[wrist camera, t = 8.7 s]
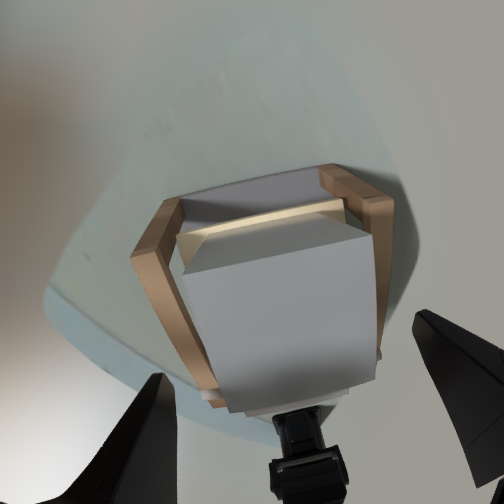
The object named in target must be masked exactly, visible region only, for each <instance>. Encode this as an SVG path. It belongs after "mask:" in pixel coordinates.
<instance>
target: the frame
mask: <svg viewBox="0 0 504 504" xmlns="http://www.w3.org/2000/svg"><path fill="white" fill-rule="evenodd" d="M316 167H317V168H318V173H319V180H320V186H321V187H322V188H323V189H325V190H326V191H327V192H328V193H329V194H331V195H332V196H333V197H334V198H340V199H342V200H343V206H344V207H346V208H347V209H348V210H349V211H350V212H351V213H352V214H353V215H355V216H356V217H357V218H358V219H359V220H360V221H361V222H362V223H363V231H364V232H367V233H369V234H372V239H373V249H374V262H375V278H376V302H377V347H376V365H377V361H379V360H381V359H382V354H381V350H380V344H381V339H382V334H383V328H384V322H385V315H386V308H387V301H388V293H389V284H390V274H391V263H392V248H393V227H394V199H393V198H391V197H390V196H388V195H386V194H385V193H383V192H382V191H380V190H378V189H377V188H375V187H373V186H372V185H370V184H368V183H366V182H365V181H363V180H361V179H360V178H358V177H356V176H354V175H353V174H351V173H349V172H347V171H345V170H344V169H342V168H340V167H338V166H336V165H334V164H332V163H331V164H325V165H319V166H316ZM180 197H181V196H178V197H174V198H171V199H167V200H164V201H163V203H162V204H161V206H160V208H159V209H158V211H157V212H156V214H155V215H154V217H153V219H152V220H151V222H150V224H149V225H148V227H147V229H146V230H145V232H144V234H143V235H142V237H141V239H140V240H139V242H138V244H137V245H136V247H135V249H134V251H133V252H132V254H131V256H130V261H131V263H132V265H133V267H134V269H135V272H136V274H137V276H138V278H139V280H140V282H141V284H142V286H143V289H144V291H145V293H146V295H147V297H148V299H149V301H150V303H151V305H152V307H153V308H154V310H155V312H156V314H157V316H158V318H159V320H160V322H161V324H162V326H163V327H164V329H165V331H166V333H167V335H168V336H169V338H170V340H171V342H172V343H173V345H174V347H175V349H176V350H177V352H178V354H179V356H180V357H181V359H182V361H183V362H184V364H185V366H186V367H187V369H188V370H189V372H190V374H191V375H192V377H193V378H194V380H195V382H196V383H197V385H198V386H199V388H200V389H201V395H202V398H203V400H204V401H207V400H208V401H209V403H210V404H211V406H212V407H213V408H221V407H227V406H226V403H225V401H224V398H223V396H222V393H221V391H220V388H219V385H218V383H217V380H216V377H215V375H214V372H213V369H212V367H211V364H210V361H209V358H208V355H207V353H206V350H205V347H204V345H203V343H202V341H201V339H200V337H199V335H198V333H197V331H196V329H195V327H194V324H193V322H192V320H191V318H190V316H189V313H188V311H187V309H186V307H185V304H184V302H183V300H182V298H181V295H180V293H179V291H178V288H177V286H176V284H175V281H174V279H173V276H172V274H171V272H170V269H169V267H168V266H169V263H170V260H171V257H172V254H173V250H174V247H175V244H176V241H177V239H176V235H177V234H179V232H180V230H181V227H182V224H183V221H184V218H185V213H184V210H183V207H182V203H181V200H180Z"/></svg>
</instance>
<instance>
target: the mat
mask: <svg viewBox="0 0 504 504" xmlns="http://www.w3.org/2000/svg"><path fill="white" fill-rule="evenodd" d="M329 199H334V197H333V196H332V195H331V194H329V193H328V192H327V191H326V190H325V189H323V188H322V187H321V186H320V180H319V173H318V168H317V167H316V166H313V167H307V168H301V169H296V170H291V171H285V172H280V173H275V174H270V175H265V176H261V177H256V178H251V179H247V180H242V181H238V182H233V183H229V184H225V185H221V186H217V187H212V188H208V189H204V190H200V191H197V192H193V193H189V194H185V195H181V197H180V200H181V203H182V207H183V210H184V213H185V218H184V221H183V224H182V227H181V230H180V232H179V233H181V232H185V231H189V230H193V229H197V228H201V227H205V226H209V225H213V224H218V223H222V222H226V221H230V220H235V219H239V218H244V217H248V216H252V215H257V214H261V213H266V212H271V211H275V210H280V209H285V208H289V207H294V206H299V205H304V204H309V203H314V202H319V201H324V200H329ZM176 245H177V247H178V250H179V253H180V249H179V246H178V242H177V241H176ZM180 256H181V253H180ZM181 258H182V257H181ZM182 261H183V260H182Z"/></svg>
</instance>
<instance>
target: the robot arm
mask: <svg viewBox="0 0 504 504" xmlns="http://www.w3.org/2000/svg"><path fill="white" fill-rule="evenodd" d="M412 333H413V336H414V338H415V340H416V343H417V345H418V348H419V350H420V353H421V355H422V358H423V360H424V363H425V365H426V368H427V370H428V372H429V374H430V376H431V378H432V380H433V382H434V384H435V386H436V388H437V390H438V392H439V394H440V396H441V398H442V400H443V403H444V405H445V407H446V409H447V412H448V414H449V416H450V418H451V420H452V423H453V425H454V427H455V430H456V432H457V435H458V437H459V440H460V443H461V445H462V448H463V449H464V450H463V451H464V453H465V456H466V459H467V462H468V464H469V467H470V470H471V473H472V476H473V479H474V482H475V485H476V488H479V487H481V486H483V485H485V484H487V483H489V482H491V481H493V480H495V479H497V478H498V477H500V476H502V475H504V350H503V349H501V348H500V349H499V348H498V347H497V346H495V345H493V344H492V343H489V342H488V341H486V340H484V339H482V338H480V337H479V336H477V335H475V334H473V333H471V332H469V331H467V330H465V329H464V328H462V327H460V326H458V325H456V324H454V323H452V322H451V321H449V320H447V319H445V318H443V317H441V316H439V315H437V314H435V313H433V312H431V311H429V310H427V309H423V310H421V311H418V312H417V313H416V314H415V318H414V322H413V326H412ZM272 421H273V424H274V426H275V429H276V432H277V434H278V435H279V436H280V442H281V448H282V453H283V458H281V459H272V462H271V463H269V470H270V490H271V492H273V493H274V494H275V495H276V496H277V498H278V500H283V504H343V502H344V500H345V497H346V494H347V490H346V486H345V485H348V484H349V478H348V473H347V469H346V466H345V463H344V461H343V458H342V455H341V453H340V450H339V447H338V445H334V446H332V447H329V448H326V446H325V442H324V439H323V435H322V432H321V428H320V425H321V409H320V407H319V406H317V407H313V408H309V409H305V410H301V411H297V412H292V413H288V414H283V415H278V416H274V417H272ZM281 470H283V471H282V472H281ZM0 504H7V503H4V502H0ZM37 504H177V416H176V403H175V390H174V386H173V384H172V383H171V382H170V380H169V379H168V378H167V376H166V375H165V374H164V373H162V372H161V373H153V374H152V375H151V376H150V377H149V379H148V380H147V382H146V383H145V385H144V386H143V387H142V389H141V390H140V392H139V393H138V395H137V396H136V397H135V399H134V400H133V402H132V403H131V405H130V406H129V407H128V409H127V410H126V412H125V413H124V415H123V416H122V418H121V419H120V420H119V422H118V423H117V425H116V426H115V428H114V429H113V431H112V432H111V433H110V435H109V436H108V438H107V439H106V441H105V442H104V444H103V447H101V448H100V449H99V451H98V452H97V454H96V455H95V456H94V458H93V459H92V461H91V462H90V463H89V465H88V466H87V467H86V468H85V470H84V471H83V472H82V473H81V474H80V476H79V477H78V478H77V479H76V480H75V481H74V482H73V483H72V485H71V486H70V487H69V488H68V489H67V490H66V491H65V492H64V493H63V494H62V495H60V496H59V497H56V498H54V499H51V500H48V501H44V502H41V503H37ZM490 504H504V477H503V478H502V479H500V480H499V482H498V485H497V488H496V491H495V493H494V496H493V498H492V501H491V503H490Z"/></svg>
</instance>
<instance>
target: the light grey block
mask: <svg viewBox="0 0 504 504" xmlns="http://www.w3.org/2000/svg"><path fill="white" fill-rule="evenodd" d="M182 278H183V281H184V285H185V288H186V291H187V295H188V298H189V301H190V304H191V308H192V311H193V314H194V317H195V320H196V323H197V326H198V329H199V332H200V335H201V338H202V341H203V344H204V347H205V350H206V353H207V355H208V358H209V361H210V364H211V367H212V369H213V372H214V375H215V377H216V380H217V383H218V385H219V388H220V391H221V393H222V396H223V398H224V401H225V403H226V406H227V408H228V411H229V413H236V412H244V411H250V410H257V409H263V408H268V407H274V406H279V405H284V404H289V403H293V402H298V401H302V400H306V399H310V398H314V397H318V396H322V395H326V394H330V393H333V392H337V391H340V390H344V389H347V388H350V387H353V386H357V385H359V384H363V383H366V382H369V381H372V380H374V379H375V371H376V347H377V302H376V278H375V262H374V249H373V239H372V234H369V233H367V232H364V231H362V230H360V229H357V228H355V227H352V226H350V225H347V224H345V223H343V222H340V221H338V220H335V219H332V218H330V217H327V216H325V215H322V214H320V213H317V212H311V213H305V214H300V215H295V216H290V217H285V218H280V219H276V220H271V221H266V222H261V223H256V224H252V225H247V226H242V227H238V228H233V229H228V230H224V231H219V232H215V233H210V234H208V236H207V237H206V239H205V240H204V242H203V243H202V245H201V246H200V248H199V249H198V251H197V252H196V254H195V255H194V257H193V259H192V260H191V262H190V263H189V265H188V266H187V268H186V269H185V271H184V273H183V274H182Z"/></svg>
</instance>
